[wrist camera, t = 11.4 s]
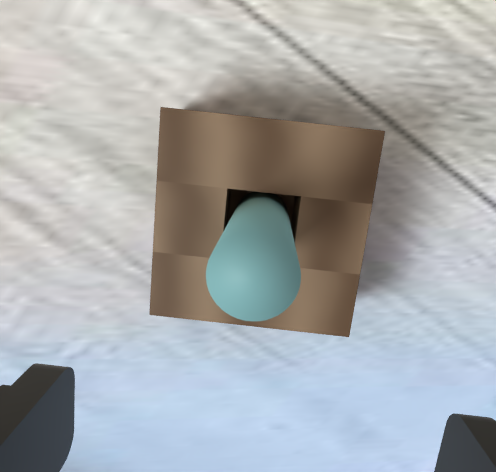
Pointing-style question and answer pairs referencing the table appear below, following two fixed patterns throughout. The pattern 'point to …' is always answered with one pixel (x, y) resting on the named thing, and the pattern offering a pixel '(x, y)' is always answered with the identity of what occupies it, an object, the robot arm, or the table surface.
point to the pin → (255, 260)
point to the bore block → (269, 181)
